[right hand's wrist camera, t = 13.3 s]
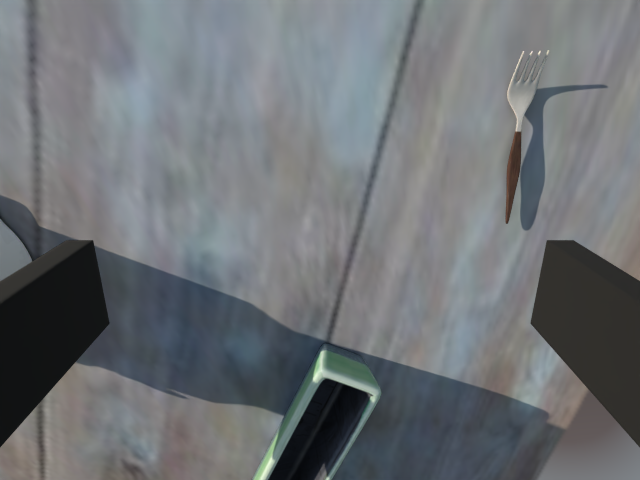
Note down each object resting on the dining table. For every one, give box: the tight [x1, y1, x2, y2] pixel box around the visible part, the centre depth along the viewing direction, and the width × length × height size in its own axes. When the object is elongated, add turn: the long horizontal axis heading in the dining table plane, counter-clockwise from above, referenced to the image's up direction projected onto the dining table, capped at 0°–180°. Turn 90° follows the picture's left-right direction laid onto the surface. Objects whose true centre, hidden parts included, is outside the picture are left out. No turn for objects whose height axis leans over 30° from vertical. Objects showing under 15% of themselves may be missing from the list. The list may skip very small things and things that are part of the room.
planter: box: [252, 343, 382, 480], centre depth 49 cm, size 28×7×7 cm, turn 156°
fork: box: [506, 50, 549, 224], centre depth 40 cm, size 3×16×2 cm, turn 2°
